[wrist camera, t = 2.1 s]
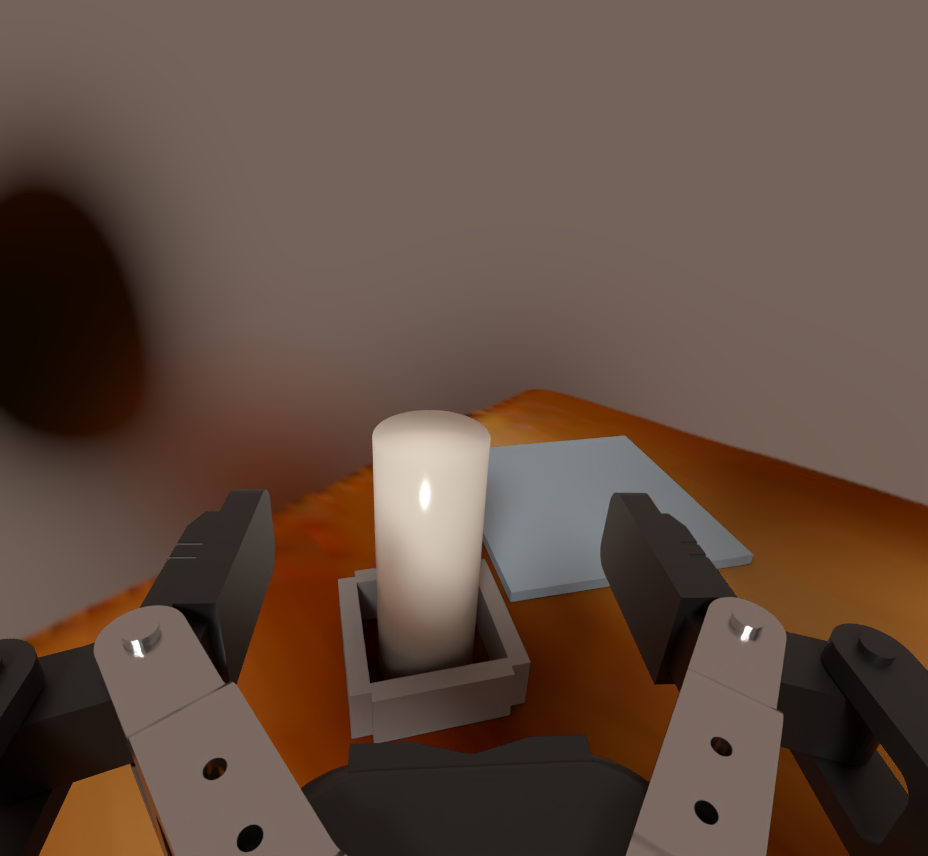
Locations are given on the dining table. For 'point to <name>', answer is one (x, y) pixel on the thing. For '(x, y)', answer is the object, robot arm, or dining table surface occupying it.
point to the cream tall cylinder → (428, 538)
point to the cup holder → (434, 693)
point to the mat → (578, 512)
